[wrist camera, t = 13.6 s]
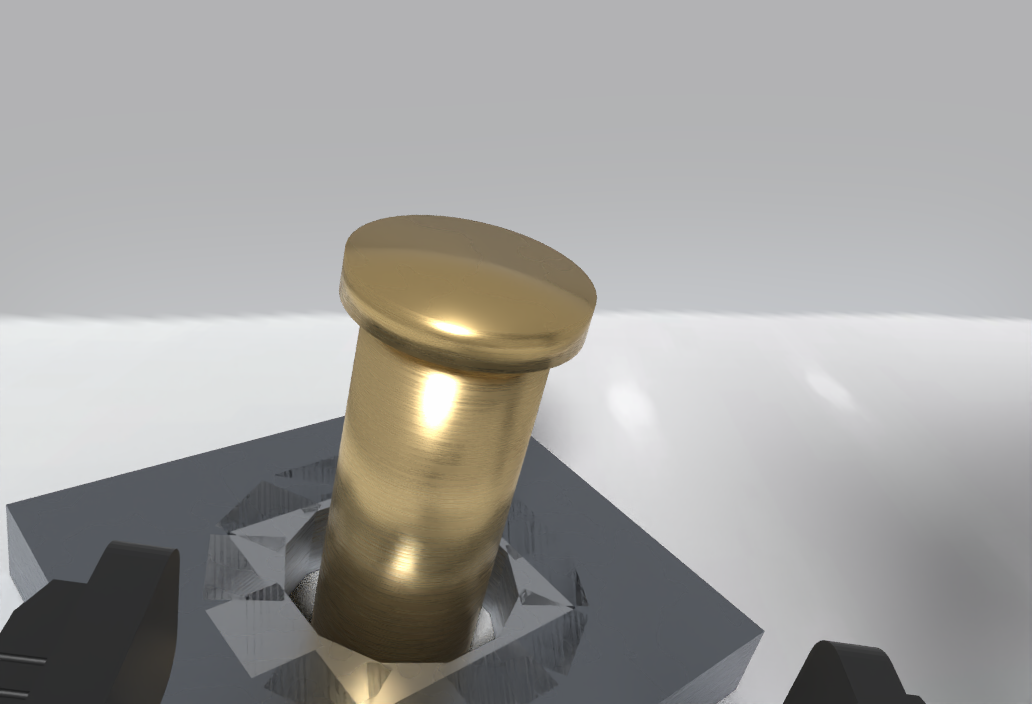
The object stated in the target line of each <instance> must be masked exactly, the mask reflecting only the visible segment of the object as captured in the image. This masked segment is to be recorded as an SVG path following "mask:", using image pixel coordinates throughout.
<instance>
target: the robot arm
mask: <svg viewBox="0 0 1032 704" xmlns="http://www.w3.org/2000/svg"><path fill="white" fill-rule="evenodd" d="M179 574H180V553H179V550H178V549H176V548H168V547H161V546H154V545H147V544H139V543H132V542H125V541H118V540H113V541H111V542H110V543H109V545H108V546H107V547H106V549H105V551H104V552H103V554H102V556H101V558H100V560H99V562H98V564H97V566H96V567H95V569H94V571H93V573H92V575H91V577H90V579H89V581H88V583H79V582H72V581H64V580H57V579H53V580H52V581H51V582H49V583H48V584H47V585H46V586H44V587H43V588H42V589H41V590H39V591H38V592H37V593H36V594H34V595H33V596H32V597H30V598H29V599H28V600H27V601H25V602H24V603H23V604H22V605H20V606H19V607H18V608H17V609H15V610H14V611H13V613H12V615H11V616H10V618H9V620H8V621H7V623H6V625H5V626H4V628H3V630H2V631H1V633H0V704H161V701H162V698H163V696H164V693H165V690H166V687H167V684H168V681H169V677H170V673H171V669H172V665H173V661H174V656H175V650H176V643H177V629H178V601H179ZM783 704H926V703H925V702H924V701H923V700H922V699H921V698H920V697H919V696H916V695H908V694H906V692H905V690H904V688H903V686H902V684H901V682H900V680H899V677H898V675H897V673H896V671H895V669H894V667H893V665H892V663H891V661H890V659H889V657H888V656H887V654H886V653H885V652H884V651H883V650H881V649H879V648H876V647H868V646H861V645H854V644H847V643H839V642H832V641H825V640H822V641H819V642H818V643H816V644H815V645H814V647H813V648H812V650H811V651H810V653H809V655H808V657H807V659H806V661H805V663H804V665H803V667H802V668H801V670H800V672H799V674H798V676H797V678H796V680H795V682H794V684H793V686H792V687H791V689H790V691H789V693H788V695H787V697H786V699H785V701H784V703H783Z"/></svg>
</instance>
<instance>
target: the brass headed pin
mask: <svg viewBox="0 0 1032 704" xmlns="http://www.w3.org/2000/svg"><path fill="white" fill-rule="evenodd" d="M339 287H340V288H339V294H340V299H341V302H342V304H343V306H344V308H345V310H346V311H347V312H348V314H349V315H350V316H351V318H352V319H353V320H354V321H355V322H356V323H357V324H358V325H359V326H360V329H359V335H358V341H357V347H356V353H355V359H354V365H353V371H352V377H351V383H350V389H349V395H348V401H347V407H346V413H345V419H344V425H343V432H342V438H341V444H340V450H339V456H338V462H337V468H336V474H335V480H334V486H333V492H332V498H331V504H330V510H329V516H328V522H327V528H326V534H325V540H324V546H323V552H322V559H321V565H320V571H319V577H318V583H317V589H316V595H315V601H314V607H313V613H312V619H311V626H312V628H313V629H314V630H315V631H316V633H317V634H318V635H319V636H321V637H323V638H325V639H328V640H330V641H332V642H334V643H337V644H339V645H341V646H343V647H346V648H348V649H350V650H352V651H355V652H357V653H359V654H361V655H364V656H366V657H368V658H370V659H373V660H375V661H377V662H380V663H449V662H451V661H453V660H455V659H457V658H459V657H461V656H463V655H465V654H467V653H469V650H470V646H471V643H472V639H473V636H474V632H475V629H476V625H477V622H478V618H479V615H480V611H481V608H482V604H483V601H484V597H485V594H486V590H487V587H488V583H489V580H490V576H491V573H492V569H493V566H494V562H495V559H496V555H497V552H498V548H499V545H500V541H501V538H502V534H503V531H504V527H505V524H506V520H507V517H508V513H509V510H510V506H511V503H512V499H513V496H514V492H515V489H516V485H517V482H518V478H519V475H520V471H521V468H522V464H523V461H524V457H525V454H526V450H527V447H528V443H529V440H530V436H531V433H532V429H533V426H534V422H535V419H536V415H537V412H538V408H539V405H540V401H541V398H542V394H543V391H544V387H545V384H546V380H547V377H548V373H549V370H550V368H553V367H556V366H559V365H561V364H563V363H565V362H567V361H569V360H570V359H572V358H573V357H574V356H576V355H577V354H578V352H579V351H580V350H581V349H582V346H583V344H584V342H585V339H586V336H587V332H588V329H589V326H590V322H591V319H592V316H593V312H594V309H595V306H596V300H597V295H596V290H595V288H594V285H593V283H592V282H591V280H590V279H589V277H588V276H587V275H586V274H585V273H584V271H583V270H582V269H581V268H580V267H578V266H577V265H576V264H575V263H574V262H572V261H571V260H570V259H568V258H567V257H565V256H564V255H562V254H561V253H559V252H558V251H556V250H554V249H552V248H551V247H549V246H547V245H545V244H543V243H541V242H539V241H536V240H534V239H532V238H529V237H527V236H524V235H522V234H519V233H516V232H514V231H510V230H507V229H504V228H501V227H498V226H494V225H490V224H486V223H482V222H477V221H472V220H467V219H461V218H455V217H446V216H434V215H433V216H432V215H407V216H396V217H389V218H384V219H380V220H376V221H373V222H370V223H368V224H366V225H364V226H362V227H360V228H358V229H357V230H356V231H354V232H353V233H352V234H351V236H350V237H349V238H348V240H347V243H346V246H345V252H344V259H343V266H342V272H341V279H340V286H339Z"/></svg>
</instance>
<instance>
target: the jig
mask: <svg viewBox="0 0 1032 704" xmlns="http://www.w3.org/2000/svg"><path fill="white" fill-rule="evenodd" d="M344 419H345V416H343V417H339V418H335V419H331V420H328V421H324V422H320V423H316V424H312V425H309V426H305V427H301V428H297V429H293V430H289V431H286V432H282V433H278V434H274V435H270V436H267V437H263V438H259V439H255V440H251V441H247V442H244V443H240V444H236V445H232V446H228V447H225V448H221V449H217V450H213V451H209V452H205V453H202V454H198V455H194V456H190V457H186V458H183V459H179V460H175V461H171V462H167V463H163V464H160V465H156V466H152V467H148V468H144V469H141V470H137V471H133V472H129V473H125V474H121V475H118V476H114V477H110V478H106V479H102V480H99V481H95V482H91V483H87V484H83V485H80V486H76V487H72V488H68V489H64V490H60V491H57V492H53V493H49V494H45V495H41V496H38V497H34V498H30V499H26V500H22V501H18V502H15V503H11V504H7V505H6V513H7V531H8V550H9V569H10V576H11V578H12V580H13V581H14V583H15V585H16V587H17V589H18V591H19V593H20V595H21V597H22V599H23V601H24V602H25V601H27V600H28V599H29V598H30V597H32V596H33V595H34V594H36V593H37V592H38V591H39V590H41V589H42V588H43V587H44V586H46V585H47V584H48V583H49V582H51V581H52V580H53V579H57V580H64V581H72V582H79V583H88V581H89V579H90V577H91V575H92V573H93V571H94V569H95V567H96V566H97V564H98V562H99V560H100V558H101V556H102V554H103V552H104V551H105V549H106V547H107V546H108V545H109V543H110V542H111V541H113V540H118V541H125V542H132V543H139V544H147V545H154V546H161V547H168V548H176V549H178V550H179V553H180V574H179V601H178V629H177V643H176V650H175V656H174V661H173V665H172V669H171V673H170V677H169V681H168V684H167V687H166V690H165V693H164V696H163V698H162V701H161V704H716V703H718V702H719V701H720V700H722V699H723V698H724V697H726V696H727V695H729V694H730V693H731V692H733V691H734V690H735V689H736V688H737V686H738V684H739V682H740V680H741V678H742V676H743V674H744V672H745V670H746V667H747V665H748V663H749V661H750V659H751V657H752V655H753V653H754V651H755V649H756V647H757V645H758V643H759V641H760V639H761V637H762V635H763V633H764V630H763V629H761V628H760V627H759V626H758V625H757V624H755V623H754V622H753V621H752V620H751V619H749V618H748V617H747V616H746V615H745V614H743V613H742V612H741V611H740V610H739V609H737V608H736V607H735V606H734V605H733V604H731V603H730V602H729V601H728V600H727V599H726V598H724V597H723V596H722V595H721V594H720V593H718V592H717V591H716V590H715V589H714V588H712V587H711V586H710V585H709V584H708V583H706V582H705V581H704V580H703V579H702V578H700V577H699V576H698V575H697V574H696V573H694V572H693V571H692V570H691V569H690V568H688V567H687V566H686V565H685V564H684V563H682V562H681V561H680V560H679V559H678V558H676V557H675V556H674V555H673V554H672V553H670V552H669V551H668V550H667V549H666V548H664V547H663V546H662V545H661V544H660V543H658V542H657V541H656V540H655V539H654V538H652V537H651V536H650V535H649V534H648V533H646V532H645V531H644V530H643V529H642V528H641V527H639V526H638V525H637V524H636V523H635V522H633V521H632V520H631V519H630V518H629V517H627V516H626V515H625V514H624V513H623V512H621V511H620V510H619V509H618V508H617V507H615V506H614V505H613V504H612V503H611V502H609V501H608V500H607V499H606V498H605V497H603V496H602V495H601V494H600V493H599V492H597V491H596V490H595V489H594V488H593V487H591V486H590V485H589V484H588V483H587V482H585V481H584V480H583V479H582V478H581V477H579V476H578V475H577V474H576V473H575V472H573V471H572V470H571V469H570V468H569V467H567V466H566V465H565V464H564V463H563V462H561V461H560V460H559V459H558V458H557V457H556V456H554V455H553V454H552V453H551V452H550V451H548V450H547V449H546V448H545V447H544V446H542V445H541V444H540V443H539V442H538V441H536V440H535V439H534V438H533V437H532V436H530V440H529V443H528V447H527V450H526V454H525V457H524V461H523V464H522V468H521V471H520V475H519V478H518V482H517V485H516V489H515V492H514V496H513V499H512V503H511V506H510V510H509V513H508V517H507V520H506V524H505V527H504V531H503V534H502V538H501V541H500V545H499V548H498V552H497V555H496V559H495V562H494V566H493V569H492V573H491V576H490V580H489V583H488V587H487V590H486V594H485V597H484V601H483V604H482V606H483V607H484V608H485V609H486V610H487V611H488V612H489V613H490V616H491V620H492V624H493V629H494V633H495V638H496V639H494V640H492V641H490V642H488V643H486V644H484V645H482V646H480V647H478V648H476V649H475V650H473V651H471V652H469V653H467V654H465V655H463V656H461V657H459V658H457V659H455V660H453V661H451V662H449V663H380V662H377V661H375V660H373V659H370V658H368V657H366V656H364V655H361V654H359V653H357V652H355V651H352V650H350V649H348V648H346V647H343V646H341V645H339V644H337V643H334V642H332V641H330V640H328V639H325V638H323V637H321V636H319V635H318V634H317V633H316V631H315V630H314V629H313V628H312V626H311V625H310V624H309V622H308V621H307V620H306V618H305V617H304V616H303V615H302V613H301V612H300V611H299V609H298V608H297V607H296V606H295V604H294V603H293V602H292V600H291V599H290V598H289V595H290V594H291V593H292V591H293V590H294V589H295V588H296V587H297V585H298V584H299V583H300V582H301V581H302V579H303V578H304V577H305V576H306V575H307V574H309V573H312V572H314V571H317V570H319V569H320V565H321V559H322V552H323V546H324V540H325V534H326V528H327V522H328V516H329V510H330V504H331V498H332V492H333V486H334V480H335V474H336V468H337V462H338V456H339V450H340V444H341V438H342V432H343V425H344Z"/></svg>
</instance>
